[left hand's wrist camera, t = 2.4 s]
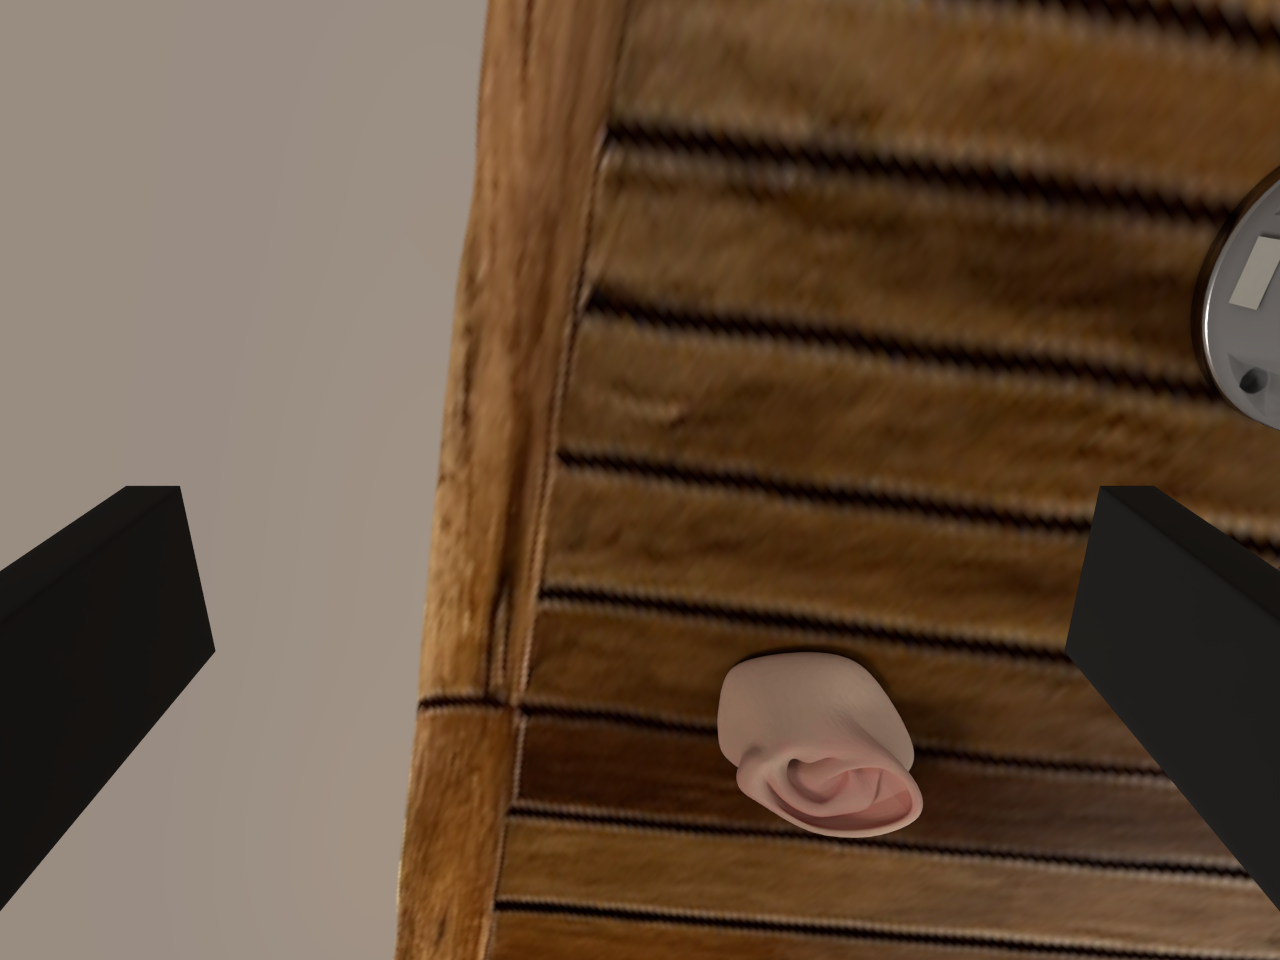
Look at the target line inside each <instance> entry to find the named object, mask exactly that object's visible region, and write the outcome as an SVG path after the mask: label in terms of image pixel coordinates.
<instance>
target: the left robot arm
mask: <svg viewBox="0 0 1280 960" xmlns="http://www.w3.org/2000/svg"><path fill="white" fill-rule="evenodd" d="M1191 336H1192V343H1193V348H1194V352H1195V356H1196V360H1197V362H1198V365H1199V367H1200V370H1201V372H1202V374H1203V376H1204V377H1205V379H1206V381H1207V382H1208V384H1209V385H1210V387H1211V388H1212V390H1213V391H1214V392H1215V393H1216V394H1217V395H1218V396H1219V397H1220V398H1221V399H1222V400H1223V401H1224V402H1225V403H1226V404H1227V405H1229V406H1230V407H1231V408H1233V409H1234V410H1236V411H1237V412H1239V413H1240V414H1242V415H1244V416H1246V417H1248V418H1250V419H1252V420H1255V421H1257V422H1259V423H1261V424H1263V425H1266V426H1268V427H1271V428H1273V429H1276V430H1279V431H1280V168H1278V169H1277V170H1276V171H1274V172H1273V173H1272V174H1271V175H1269V176H1268V177H1267V178H1266V179H1264V180H1263V181H1262V182H1261V183H1260V184H1259V185H1258V186H1257V187H1256V188H1254V189H1253V190H1252V191H1251V192H1250V193H1249V194H1248V195H1247V197H1246V198H1245V199H1244V200H1243V201H1242V202H1241V203H1240V204H1239V205H1238V206H1237V208H1236V209H1235V210H1234V211H1233V213H1232V214H1231V215H1230V216H1229V218H1228V219H1227V221H1226V222H1225V224H1224V225H1223V227H1222V228H1221V229H1220V231H1219V232H1218V234H1217V236H1216V238H1215V239H1214V241H1213V243H1212V245H1211V247H1210V249H1209V251H1208V253H1207V255H1206V257H1205V259H1204V262H1203V264H1202V267H1201V270H1200V272H1199V275H1198V279H1197V282H1196V286H1195V290H1194V295H1193V301H1192V308H1191ZM214 652H215V647H214V642H213V637H212V633H211V628H210V623H209V619H208V614H207V609H206V605H205V600H204V596H203V591H202V586H201V582H200V577H199V572H198V568H197V563H196V559H195V554H194V549H193V544H192V540H191V535H190V531H189V526H188V521H187V517H186V512H185V507H184V503H183V498H182V493H181V489H180V486H125V487H124V488H122V489H121V490H120V491H118V492H117V493H115V494H114V495H112V496H111V497H109V498H108V499H106V500H105V501H103V502H102V503H100V504H99V505H97V506H96V507H94V508H93V509H91V510H90V511H88V512H87V513H85V514H84V515H83V516H81V517H80V518H78V519H77V520H75V521H74V522H72V523H71V524H69V525H68V526H66V527H65V528H63V529H62V530H60V531H59V532H57V533H56V534H54V535H53V536H52V537H50V538H49V539H47V540H46V541H44V542H43V543H41V544H40V545H38V546H37V547H35V548H34V549H32V550H31V551H29V552H28V553H26V554H25V555H23V556H22V557H20V558H19V559H18V560H16V561H15V562H13V563H12V564H10V565H9V566H7V567H6V568H4V569H3V570H1V571H0V911H1V910H2V908H3V907H4V906H5V905H6V904H7V902H8V901H9V900H10V899H11V898H12V896H13V895H14V894H15V893H16V891H17V890H18V889H19V888H20V887H21V885H22V884H23V883H24V882H25V881H26V879H27V878H28V877H29V876H30V875H31V873H32V872H33V871H34V870H35V869H36V867H37V866H38V865H39V864H40V862H41V861H42V860H43V859H44V858H45V856H46V855H47V854H48V853H49V852H50V850H51V849H52V848H53V847H54V846H55V844H56V843H57V842H58V841H59V840H60V838H61V837H62V836H63V835H64V833H65V832H66V831H67V830H68V829H69V827H70V826H71V825H72V824H73V823H74V821H75V820H76V819H77V818H78V817H79V815H80V814H81V813H82V812H83V810H84V809H85V808H86V807H87V806H88V805H89V803H90V802H91V801H92V800H93V798H94V797H95V796H96V795H97V794H98V792H99V791H100V790H101V789H102V787H103V786H104V785H105V784H106V783H107V782H108V780H109V779H110V778H111V777H112V775H113V774H114V773H115V772H116V771H117V769H118V768H119V767H120V766H121V765H122V763H123V762H124V761H125V760H126V759H127V757H128V756H129V755H130V754H131V753H132V751H133V750H134V749H135V748H136V747H137V745H138V744H139V743H140V742H141V740H142V739H143V738H144V737H145V736H146V734H147V733H148V732H149V731H150V730H151V728H152V727H153V726H154V725H155V724H156V722H157V721H158V720H159V719H160V717H161V716H162V715H163V714H164V713H165V711H166V710H167V709H168V708H169V707H170V705H171V704H172V703H173V702H174V701H175V699H176V698H177V697H178V696H179V695H180V693H181V692H182V691H183V690H184V689H185V687H186V686H187V685H188V684H189V682H190V681H191V680H192V679H193V678H194V676H195V675H196V674H197V673H198V672H199V670H200V669H201V668H202V667H203V666H204V664H205V663H206V662H207V661H208V660H209V658H210V657H211V656H212V655H213V654H214ZM1065 652H1066V654H1067V655H1068V656H1069V657H1070V658H1071V660H1072V661H1073V662H1074V663H1075V664H1076V666H1077V667H1078V668H1079V669H1080V670H1081V672H1082V673H1083V674H1084V675H1085V676H1086V678H1087V679H1088V680H1089V681H1090V683H1091V684H1092V685H1093V686H1094V687H1095V689H1096V690H1097V691H1098V692H1099V693H1100V695H1101V696H1102V697H1103V698H1104V699H1105V701H1106V702H1107V703H1108V704H1109V705H1110V707H1111V708H1112V709H1113V710H1114V711H1115V713H1116V714H1117V715H1118V716H1119V718H1120V719H1121V720H1122V721H1123V722H1124V724H1125V725H1126V726H1127V727H1128V728H1129V730H1130V731H1131V732H1132V733H1133V734H1134V736H1135V737H1136V738H1137V739H1138V740H1139V742H1140V743H1141V744H1142V745H1143V747H1144V748H1145V749H1146V750H1147V751H1148V753H1149V754H1150V755H1151V756H1152V757H1153V759H1154V760H1155V761H1156V762H1157V763H1158V765H1159V766H1160V767H1161V768H1162V769H1163V771H1164V772H1165V773H1166V774H1167V776H1168V777H1169V778H1170V779H1171V780H1172V782H1173V783H1174V784H1175V785H1176V786H1177V788H1178V789H1179V790H1180V791H1181V792H1182V794H1183V795H1184V796H1185V797H1186V798H1187V800H1188V801H1189V802H1190V803H1191V805H1192V806H1193V807H1194V808H1195V809H1196V811H1197V812H1198V813H1199V814H1200V815H1201V817H1202V818H1203V819H1204V820H1205V821H1206V823H1207V824H1208V825H1209V826H1210V827H1211V829H1212V830H1213V831H1214V832H1215V834H1216V835H1217V836H1218V837H1219V838H1220V840H1221V841H1222V842H1223V843H1224V844H1225V846H1226V847H1227V848H1228V849H1229V850H1230V852H1231V853H1232V854H1233V855H1234V856H1235V858H1236V859H1237V860H1238V861H1239V863H1240V864H1241V865H1242V866H1243V867H1244V869H1245V870H1246V871H1247V872H1248V873H1249V875H1250V876H1251V877H1252V878H1253V879H1254V881H1255V882H1256V883H1257V884H1258V885H1259V887H1260V888H1261V889H1262V890H1263V891H1264V893H1265V894H1266V895H1267V896H1268V898H1269V899H1270V900H1271V901H1272V902H1273V904H1274V905H1275V906H1276V907H1277V908H1278V910H1279V911H1280V567H1279V568H1278V569H1276V568H1274V567H1273V566H1271V565H1270V564H1268V563H1267V562H1265V561H1264V560H1262V559H1261V558H1260V557H1258V556H1257V555H1255V554H1254V553H1252V552H1251V551H1249V550H1248V549H1246V548H1245V547H1243V546H1242V545H1240V544H1239V543H1237V542H1236V541H1234V540H1233V539H1231V538H1230V537H1228V536H1227V535H1226V534H1224V533H1223V532H1221V531H1220V530H1218V529H1217V528H1215V527H1214V526H1212V525H1211V524H1209V523H1208V522H1206V521H1205V520H1203V519H1202V518H1200V517H1199V516H1197V515H1196V514H1195V513H1193V512H1192V511H1190V510H1189V509H1187V508H1186V507H1184V506H1183V505H1181V504H1180V503H1178V502H1177V501H1175V500H1174V499H1172V498H1171V497H1169V496H1168V495H1166V494H1165V493H1163V492H1162V491H1161V490H1159V489H1158V488H1156V487H1155V486H1100V489H1099V493H1098V498H1097V503H1096V507H1095V512H1094V517H1093V521H1092V526H1091V531H1090V535H1089V540H1088V544H1087V549H1086V554H1085V558H1084V563H1083V568H1082V572H1081V577H1080V582H1079V586H1078V591H1077V596H1076V600H1075V605H1074V609H1073V614H1072V619H1071V623H1070V628H1069V633H1068V637H1067V642H1066V647H1065Z"/></svg>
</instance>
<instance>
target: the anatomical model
mask: <svg viewBox="0 0 1280 960" xmlns="http://www.w3.org/2000/svg"><path fill="white" fill-rule="evenodd" d="M717 721H718V738H719V744H720V748H721V750H722V752H723V754H724V755H725V756H726V757H727V759H728V760H730V761H731V762H732V763H733V764H734V765H736V766H737V767H738V770H737V783H738V785H739V787H740V789H741V790H742V791H743V792H744V793H745V794H746V795H748V796H749V797H750V798H752V799H754V800H755V801H757V802H759V803H760V804H762V805H763V806H765V807H767V808H768V809H770V810H771V811H773V812H774V813H776V814H778V815H779V816H781V817H782V818H784V819H786V820H788V821H789V822H791V823H793V824H795V825H797V826H799V827H801V828H803V829H806V830H808V831H811V832H814V833H819V834H823V835H828V836H837V837H870V836H876V835H881V834H885V833H889V832H892V831H895V830H898V829H900V828H902V827H904V826H906V825H908V824H910V823H912V822H913V821H914V820H916V819H917V818H918V816H919V815H920V813H921V811H922V807H923V801H922V796H921V793H920V790H919V788H918V786H917V784H916V782H915V781H914V779H913V778H912V776H911V775H910V773H909V772H908V771H909V770H910V768H911V766H912V764H913V760H914V750H913V745H912V742H911V739H910V736H909V734H908V732H907V730H906V728H905V725H904V723H903V721H902V719H901V718H900V716H899V714H898V712H897V711H896V709H895V707H894V706H893V704H892V702H891V701H890V699H889V698H888V696H887V695H886V693H885V692H884V690H883V689H882V688H881V686H880V685H879V684H878V682H877V681H876V680H875V679H874V678H873V677H872V675H871V674H870V673H869V672H868V671H867V670H866V669H864V668H863V667H862V666H861V665H859V664H858V663H856V662H855V661H852V660H850V659H848V658H845V657H842V656H839V655H834V654H829V653H818V652H796V653H783V654H776V655H768V656H763V657H758V658H753V659H750V660H746V661H744V662H742V663H739V664H738V665H736V666H735V667H733V668H732V669H731V670H730V671H729V672H728V674H727V675H726V677H725V680H724V682H723V686H722V690H721V695H720V702H719V709H718V720H717Z"/></svg>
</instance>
